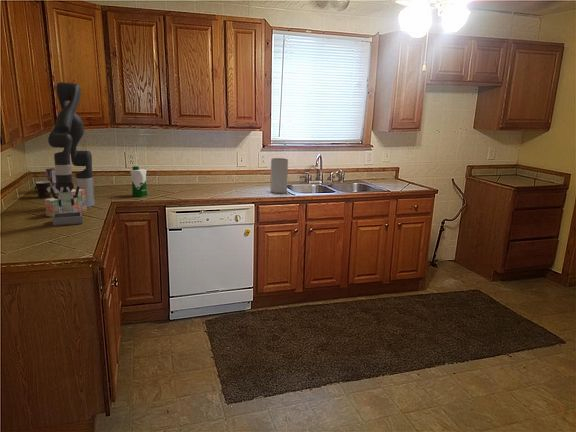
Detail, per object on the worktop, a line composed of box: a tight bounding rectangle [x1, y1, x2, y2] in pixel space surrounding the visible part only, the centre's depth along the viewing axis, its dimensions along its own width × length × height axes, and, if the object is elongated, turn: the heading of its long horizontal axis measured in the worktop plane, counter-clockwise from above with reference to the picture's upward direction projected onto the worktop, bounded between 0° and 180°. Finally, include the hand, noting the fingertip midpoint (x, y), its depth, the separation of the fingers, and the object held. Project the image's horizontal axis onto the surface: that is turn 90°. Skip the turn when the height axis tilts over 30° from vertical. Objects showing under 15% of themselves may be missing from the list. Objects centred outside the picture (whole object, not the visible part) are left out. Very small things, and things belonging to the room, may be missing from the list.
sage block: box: [60, 192, 72, 212], centre depth 219 cm, size 5×4×10 cm
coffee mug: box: [34, 180, 51, 199], centre depth 275 cm, size 12×9×10 cm
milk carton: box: [129, 165, 148, 198], centre depth 290 cm, size 9×9×20 cm
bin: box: [51, 211, 83, 227], centre depth 221 cm, size 10×13×4 cm
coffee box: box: [45, 167, 59, 194], centre depth 293 cm, size 9×6×16 cm
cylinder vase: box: [270, 157, 289, 194], centre depth 321 cm, size 12×12×25 cm
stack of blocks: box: [44, 188, 88, 218], centre depth 240 cm, size 21×6×12 cm, turn 153°
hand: (66, 206), depth 220 cm, fingers closed on sage block, 4 cm apart
